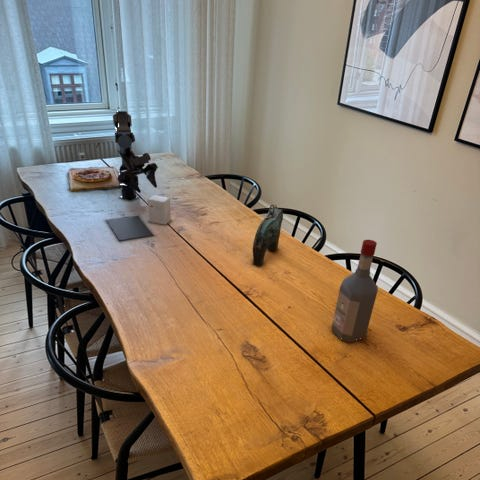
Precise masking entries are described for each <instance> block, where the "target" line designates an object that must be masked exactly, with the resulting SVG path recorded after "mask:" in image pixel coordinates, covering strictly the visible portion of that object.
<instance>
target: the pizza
mask: <svg viewBox="0 0 480 480" xmlns="http://www.w3.org/2000/svg"><path fill="white" fill-rule="evenodd" d="M118 174H120V171H118V168H117V167H116V166H115V165H113V166H98V167H97V166H90V167H81V168H80V167H79V168H77V167H74V168H73V167H72V168H68V172H67V175H68V182H69V186H70V187H69V189H68V190H69V191H70V192H73V193H74V192H77V193H78V192H90V191H105V190H108V189H111V188H116V187H120V186H119V181H118Z"/></svg>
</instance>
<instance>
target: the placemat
mask: <svg viewBox="0 0 480 480" xmlns="http://www.w3.org/2000/svg"><path fill="white" fill-rule="evenodd" d="M106 222H107V224H108V225H109V227H110V228H111V231H112V232H113V233H114V235H115V236H116V238H117V240H118V241H119V242H122V241H124V242H125V241H130V240H136V239H143V238H144V239H145V238H149V237H154V234H153V233H152V231H151V230H150V229H149V228H148V226H146V225H147V224H145V223H144V222H143V219H141V218H140V216H139V215H134V216H133V215H132V216H126V217H119V218H111V219H106Z"/></svg>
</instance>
